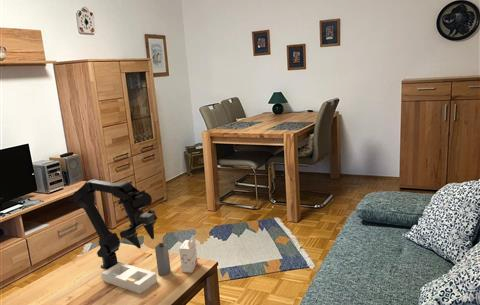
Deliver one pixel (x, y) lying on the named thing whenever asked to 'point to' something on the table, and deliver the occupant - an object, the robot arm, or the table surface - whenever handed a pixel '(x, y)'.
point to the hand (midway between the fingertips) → (146, 243)
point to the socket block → (129, 277)
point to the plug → (162, 259)
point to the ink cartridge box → (188, 255)
